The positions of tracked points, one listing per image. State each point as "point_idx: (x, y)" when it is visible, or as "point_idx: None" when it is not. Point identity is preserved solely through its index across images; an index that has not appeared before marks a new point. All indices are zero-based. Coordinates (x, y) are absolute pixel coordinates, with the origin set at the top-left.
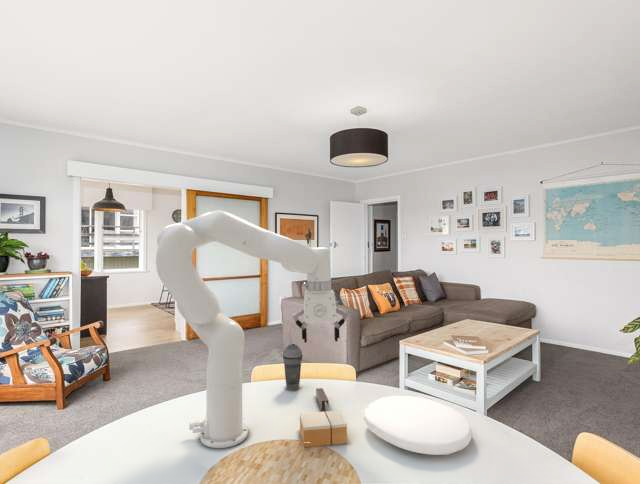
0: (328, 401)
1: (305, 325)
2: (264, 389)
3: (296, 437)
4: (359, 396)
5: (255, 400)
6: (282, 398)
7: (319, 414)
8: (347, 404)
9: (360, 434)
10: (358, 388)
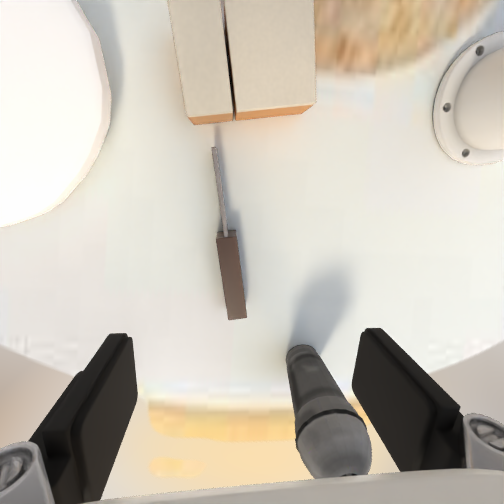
0: (216, 238)
1: (490, 467)
2: None
3: None
4: (126, 309)
5: (397, 292)
6: (331, 301)
7: (254, 88)
8: (163, 263)
9: (136, 82)
10: None
